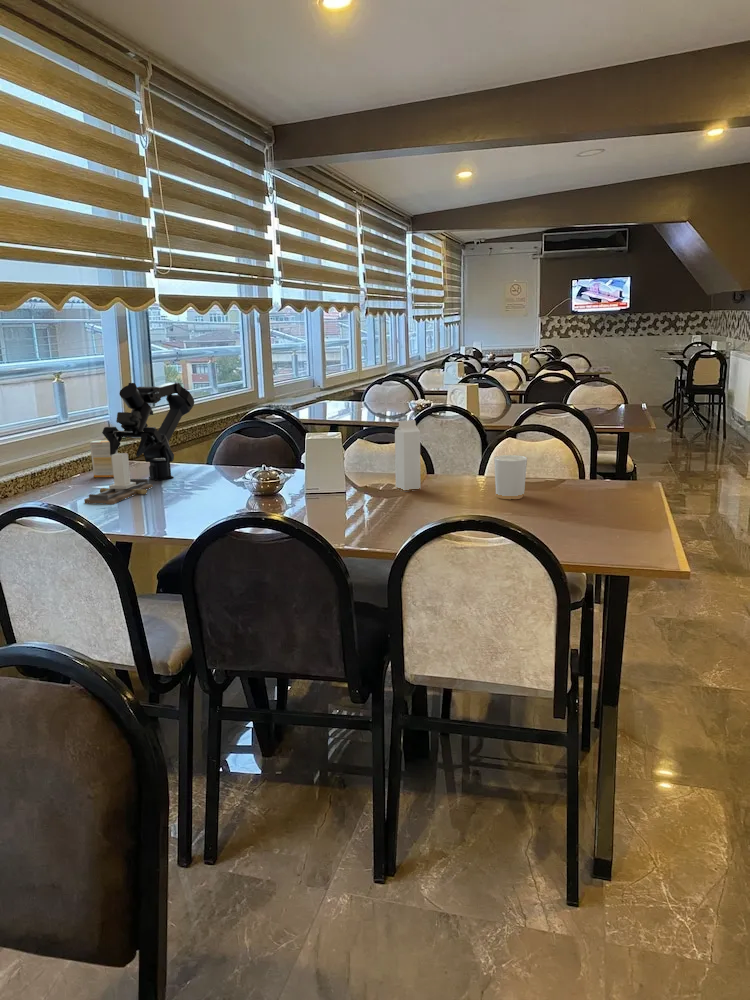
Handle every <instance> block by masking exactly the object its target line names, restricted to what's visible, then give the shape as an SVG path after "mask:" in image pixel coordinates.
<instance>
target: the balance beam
mask: <svg viewBox="0 0 750 1000" xmlns="http://www.w3.org/2000/svg"><path fill="white" fill-rule="evenodd" d="M148 479H149V478H130V482H136V485H135V486H133V487H130V488H128V489H124V490H121V491H119V492H118V491H115V489H109V487H108V488H105V487H104V488H103V487H101V488H100V489H99V492H98V493H97V494H94V493H91V494H88V497H87V498H84V504H93V503H103V504H102V505H115V503H116V504H118V503H120V502H122V501H121V500H123V499H125V498H127V499H129V498H128V497H130V496H132V495H134V494H137V495H145V494H146V493H147V494H148V490H146V489H149V488H151V487H153V488H154V484H153V483H149V481H148ZM151 489H152V488H151ZM149 490H150V489H149ZM147 494H146V495H147ZM132 497H133V496H132ZM130 498H131V497H130ZM125 500H126V499H125ZM119 501H120V502H119ZM123 501H124V500H123ZM117 502H118V503H117ZM104 503H106V504H104Z"/></svg>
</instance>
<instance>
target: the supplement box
mask: <svg viewBox="0 0 750 1000" xmlns="http://www.w3.org/2000/svg"><path fill="white" fill-rule="evenodd" d="M89 447H90V455H91V463H92V471H93V477H94V478H114V474H113V464H112V456H111V455H110V442H109V441H108V440H107V439H96V440H92V441H89ZM118 451H119V450H117V451H116V453H115V454H117V453H119V452H118Z"/></svg>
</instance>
